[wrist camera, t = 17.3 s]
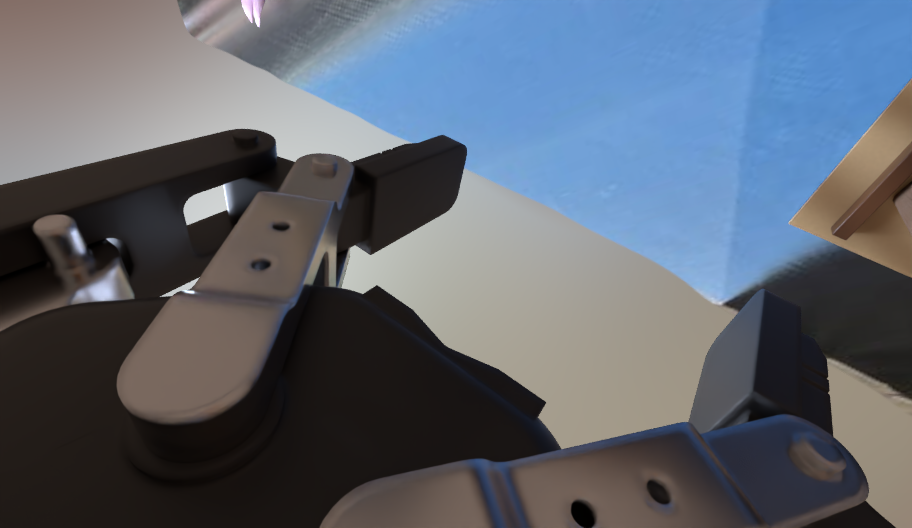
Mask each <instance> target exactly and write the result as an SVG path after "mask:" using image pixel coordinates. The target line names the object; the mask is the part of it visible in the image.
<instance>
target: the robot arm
mask: <svg viewBox="0 0 912 528" xmlns="http://www.w3.org/2000/svg"><path fill="white" fill-rule="evenodd" d="M466 156H467V148H466V146H465V145H463V144H461V143H459V142H457V141H455V140H453V139H451V138H449V137H447V136H445V135H440V136H437V137H434V138H431V139H428V140H425V141H423V142H420V143H412V144H404V145H401V146H398V147H395V148H393V149H392V150H391V149H389V150H386V151H383V152H382V154H381V153H377V154H374V155H371V156H368V157H365V158H362V159H359V160H356V161H353V162H349V161H348V160H346V159H344V158H342V157H339V156H336V155H331V154H310V155H305V156H303V157H300V158H299V159H297V161H296V162H293V161H290V160H287V159H284V158H280V157H278V156H277V153H276V141H275V139H274V137H272V136H271V135H269V134H267V133H265V132H262V131H258V130H251V129H235V130H229V131H224V132H220V133H216V134H212V135H207V136H204V137H199V138H195V139H191V140H186V141H182V142H178V143H174V144H170V145H166V146H161V147H157V148H153V149H149V150H145V151H141V152H137V153H132V154H128V155H124V156H120V157H116V158H112V159H107V160H103V161H99V162H95V163H91V164H86V165H82V166H78V167H74V168H70V169H66V170H62V171H58V172H53V173H49V174H45V175H41V176H36V177H33V178H28V179H24V180H20V181H16V182H12V183H7V184H3V185H0V528H895V527H894V526H893V525H892V524H891V523H890V522H889V521H887V520H886V519H885V518H884V517H882V516H881V515H880V514H879V513H878V512H877V511H876V510H875V509H873V508H872V507H871V506H870V505H869V504H868V503H867V502H866V501H865V500H866V498H867V497H868V493H869V487H868V482H867V479H866V476H865V474H864V472H863V470H862V469H861V467H860V466H859V464H858V463H857V461H856V460H855V459H854V457H853V456H852V455H851V454H850V453H849V451H848V450H847V449H846V448H845V447H844V446H843V445H842V444H841V443H840V442H839V441H838V440H836V439H835V438H834V437H833V427H832V415H831V403H830V395H829V394H828V392H829V380H827V377H828V368H827V359H826V357H825V356H824V354H823V353H822V351H821V349H820V348H819V346H818V344H817V343H816V341H815V339H813V338H811V337H809V336H807V335H805V334H803V333H801V307H800V306H798V305H796V304H794V303H792V302H790V301H788V300H786V299H783V298H781V297H779V296H777V295H775V294H773V293H771V292H769V291H767V290H765V289H761V290H759V291H758V292H757V293H756V294H755V295H754V296H753V297H752V298H751V299H750V300H749V301H748V302H747V304H746V305H745V306H744V307H743V308H742V309H741V311H740V312H739V313H738V314H737V315H736V316H735V317H734V319H733V320H732V321H731V322H730V323H729V324H728V325H727V327H726V328H725V329H724V330H723V331H722V332H721V333H720V335H719V336H718V337H717V338H716V340H715V341H714V343H713V344H712V346H711V347H710V349H709V351H708V353H707V355H706V358H705V362H704V365H703V369H702V373H701V377H700V381H699V384H698V388H697V392H696V395H695V399H694V403H693V407H692V410H691V415H690V418H689V422H681V423H676V424H671V425H667V426H663V427H659V428H654V429H649V430H645V431H641V432H636V433H632V434H627V435H623V436H618V437H614V438H610V439H606V440H601V441H597V442H592V443H588V444H583V445H579V446H574V447H570V448H566V449H561V448H560V446H559V444H558V443H557V441H556V440H555V438H554V437H553V435H552V434H551V432H550V431H549V430H548V428H546V426H545V425H544V424H543V423H542V421H541V420H540V419H539V418H538V416H539V414H540V413H541V411H542V409H543V407H544V406H545V404H546V402H545V401H544V400H542V399H541V398H539V397H538V396H536V395H535V394H533V393H532V392H530V391H529V390H528V389H526V388H525V387H523V386H522V385H521V384H519V383H518V382H516V381H514V380H513V379H512V378H510V377H509V376H508V375H506V374H505V373H503V372H502V371H500V370H499V369H496V368H494V367H492V366H490V365H487V364H485V363H483V362H480V361H478V360H476V359H473V358H471V357H469V356H466V355H464V354H462V353H459V352H457V351H455V350H452V349H450V348H448V347H447V346H445V345H444V344H443V343H442V342H441V341H440V340H439V339H438V338H437V337H436V336H435V334H434V333H433V332H432V331H431V330H430V329H429V328H428V327H427V325H426V324H425V323H424V322H423V321H422V320H421V319H420V317H419V316H418V315H417V314H416V313H415V312H414V311H413V310H412V309H411V308H409V307H408V306H406V305H405V304H403V303H402V302H400V301H399V300H398V299H396V298H395V297H393V296H392V295H390V294H389V293H388V292H386V291H384V290H383V289H382V288H380V287H379V286H377V285H376V286H375V287H374V288H372V289H370V290H369V291H367V292H366V293H364V294H361V293H358V292H355V291H351V290H348V289H342V288H341V287H342V283H343V279H344V276H345V272H346V268H347V265H348V261H349V258H350V247H352V246H354V245H356V246H358V247H359V248H361V249H362V250H364V251H365V252H367V253H368V254H370V255H372V254H374V253H375V252H377V251H379V250H381V249H382V248H384V247H386V246H388V245H389V244H391V243H393V242H395V241H396V240H398V239H400V238H401V237H403V236H405V235H407V234H409V233H411V232H412V231H414V230H416V229H417V228H419V227H421V226H423V225H425V224H426V223H428V222H430V221H432V220H433V219H435V218H437V217H439V216H440V215H442V214H444V213H446V212H447V211H448V210H449V209H450V208H451V207H452V206H453V204H454V203H455V201H456V199H457V196H458V192H459V188H460V183H461V179H462V174H463V170H464V165H465V161H466ZM221 185H223V186H224V192H225V198H226V204H227V210H226V211H223V212H221V213H218V214H215V215H213V216H210V217H208V218H205V219H203V220H200V221H198V222H195V223H193V224H190V225H186V221H185V217H184V213H183V208H184V205H185V203H186V201H187V200H188V199H189V198H190V197H191V196H193V195H195V194H197V193H200V192H203V191H206V190H209V189H212V188H215V187H218V186H221ZM199 277H200V278H199ZM196 278H199V279H198V281H197V282H196V284H195V285H194V286H193V287H192V288H191V289H190V290H187V291H180V292H177V293H176V294H174V295H173V296H168V297H160V296H162V295H164V294H166V293H168V292H170V291H172V290H174V289H176V288H178V287H180V286H182V285H184V284H186V283H188V282H191V281H192V280H195V279H196Z"/></svg>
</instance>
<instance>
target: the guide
mask: <svg viewBox="0 0 912 528" xmlns="http://www.w3.org/2000/svg"><path fill="white" fill-rule="evenodd" d="M911 181H912V78H911V80H910V81H909V82H908V83H907V84H906V85H905V87H904V88H903V89H902V90H901V91H900V92H899V94H898V95H897V96H896V97H895V98H894V100H893V101H892V102H891V103H890V104H889V105H888V107H887V108H886V109H885V110H884V111H883V112H882V114H881V115H880V116H879V117H878V118H877V119H876V121H875V122H874V123H873V124H872V125H871V126H870V128H869V129H868V130H867V131H866V132H865V133H864V135H863V136H862V137H861V138H860V139H859V140H858V142H857V143H856V144H855V145H854V146H853V147H852V149H851V150H850V151H849V152H848V153H847V155H846V156H845V157H844V158H843V159H842V160H841V162H840V163H839V164H838V165H837V166H836V167H835V169H834V170H833V171H832V172H831V173H830V174H829V176H828V177H827V178H826V179H825V180H824V181H823V183H822V184H821V185H820V186H819V187H818V188H817V190H816V191H815V192H814V193H813V194H812V195H811V197H810V198H809V199H808V200H807V201H806V202H805V204H804V205H803V206H802V207H801V208H800V210H799V211H798V212H797V213H796V214H795V215H794V217H793V218H792V219H791V220H790V221H789V224H790V225H793V226H795V227H797V228H800V229H802V230H804V231H806V232H809V233H811V234H813V235H816V236H818V237H820V238H822V239H825V240H827V241H829V242H832V243H834V244H836V245H838V246H841V247H843V248H845V249H848V250H850V251H852V252H854V253H857V254H859V255H861V256H864V257H866V258H868V259H870V260H873V261H875V262H877V263H879V264H882V265H884V266H886V267H889V268H891V269H893V270H895V271H898V272H900V273H902V274H905V275H907V276H909V277H911V278H912V236H911V234H910V232H909V230H908V228H907V227H906V225H905V223H904V221H903V219H902V217H901V215H900V213H899V211H898V209H897V208H896V206H895V204H894V202H893V198H894V196H895V195H896V194H897V193H898V192H900V191H901V190H902V189H903V188H904V187H905V186H906V185H908V184H909V183H910V182H911Z"/></svg>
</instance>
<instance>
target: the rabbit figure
mask: <svg viewBox="0 0 912 528" xmlns="http://www.w3.org/2000/svg"><path fill="white" fill-rule="evenodd" d="M264 2H265V0H242V6H243V9H244V11H245V13H246V15H247V17H248V18H249V20H250V21H251V22H252V23H253V12H254V17H255V20H256V23H257V26H258V27H259V26H260V16H261V11H262V8H263V5H264Z"/></svg>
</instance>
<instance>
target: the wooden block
mask: <svg viewBox="0 0 912 528" xmlns="http://www.w3.org/2000/svg"><path fill="white" fill-rule="evenodd" d="M893 202H894V204H895V206H896V208H897V209H898V211H899V213H900V215H901V217H902V219H903V221H904V223H905V225H906V227H907V228H908V230H909V232H910V234H911V236H912V181H911V182H910V183H909V184H908V185H906V186H905V187H904V188H903V189H902V190H901V191H900V192H898V193H897V194H896V195H895V196H894V198H893Z"/></svg>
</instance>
